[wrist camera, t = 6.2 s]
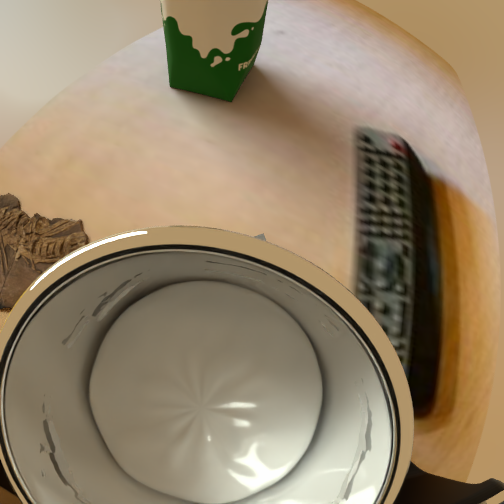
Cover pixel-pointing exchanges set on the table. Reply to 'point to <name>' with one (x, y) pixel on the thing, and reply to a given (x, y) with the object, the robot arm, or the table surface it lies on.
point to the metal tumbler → (198, 379)
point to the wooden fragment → (31, 247)
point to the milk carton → (212, 43)
